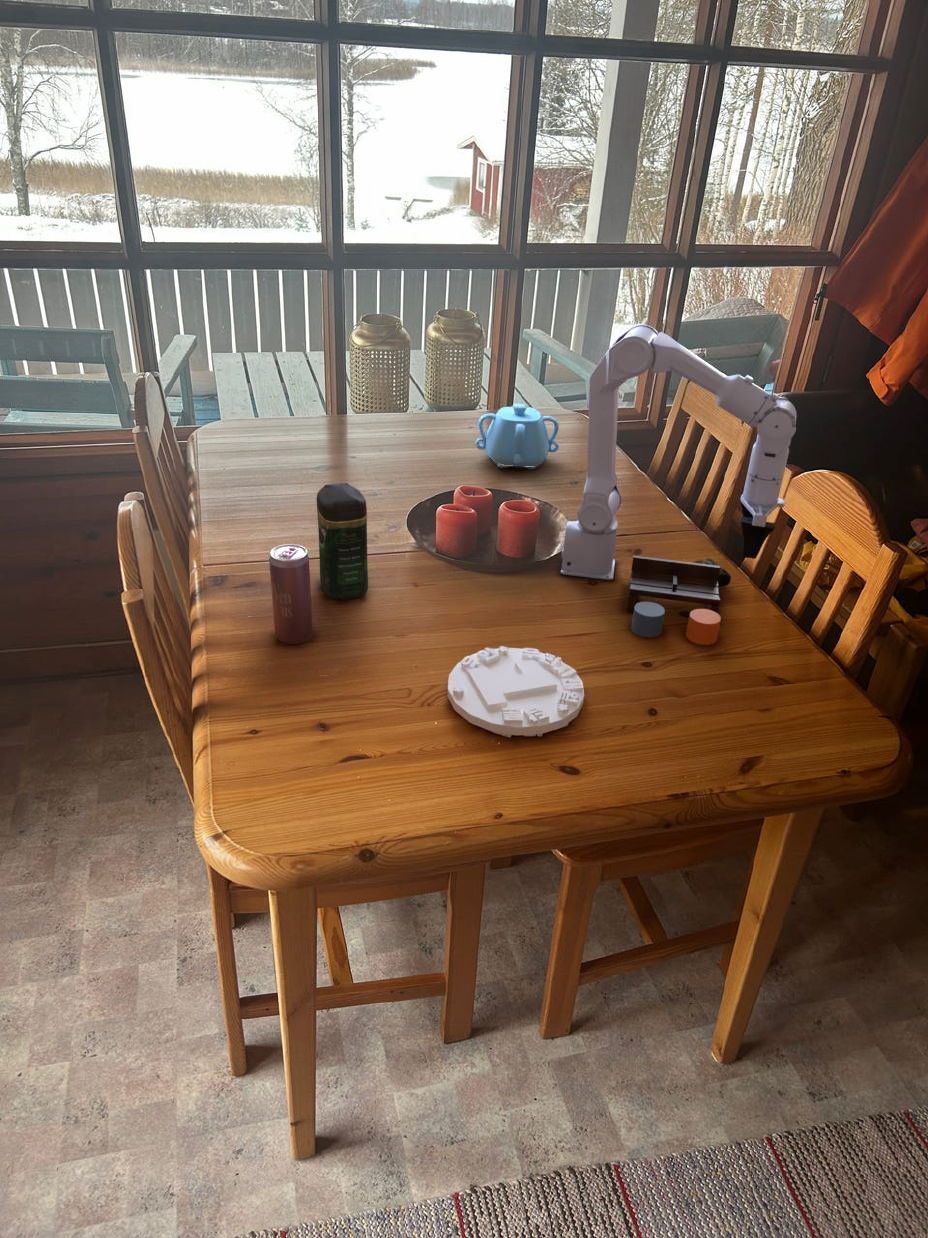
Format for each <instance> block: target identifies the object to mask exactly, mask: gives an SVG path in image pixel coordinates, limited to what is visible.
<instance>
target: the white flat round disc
mask: <svg viewBox="0 0 928 1238" xmlns="http://www.w3.org/2000/svg"><path fill="white" fill-rule="evenodd" d="M447 680H448V683H447V699H448V700H449V702H450V705H451V706H452V708H453V710H454V711H455V712H456V713H457V714H458V715H460V716H461V717H462V718H464V719H465V720H466V721H467V722H468V723H470V724H472V725H475V726H477V727H480V728H482V729H484V730H487V731H489V732H492V733H493V734H496V735H501V736H503V737H506V738H508V739H509V738H511V737H512V736H523V737H536V736H537V737H543V734H546V733H549V732H552V731H556V730H559V729H561V728H564V727H567V726H569V723H570V722H571V721H573V720H574V719H576V718H577V717H578V715H579V713H580V711H581V709H582V707H583V705H584V701H585V690H584V683H583V680H582V679H581V678H580V676H579V675H578V671H577V670H576V669H574V668H573V667H571V666H570V665H569V664H566V663H565V662H563V661H562V657H559V656H557V657H556V655H553V654H551V653H548V652H546V653H543V652H542V651H540V650H539V649H537V648H533V647H523V648H518V647H507V646H504V645H500V646H499V647H498V648H493V647H491V648H490V647H488V646H487V647H484V649H481V650H479V651H477V652H476V653H472V654H471V655H466V656H465V657H463V659H461V660H460V661H458V662H457V663H456V665H455V666H454V667H453V668H452V670H451V671H450V673H449V674H448V679H447Z"/></svg>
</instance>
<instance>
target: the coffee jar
mask: <svg viewBox="0 0 928 1238" xmlns="http://www.w3.org/2000/svg"><path fill="white" fill-rule="evenodd" d="M367 506H368V505H367V500H366V497H365V495H363V493H362V492H361V491H360V489H358V488H356V487H355V486H353V485H350V484H349V483H348V482H339V483H328V484H325V485H323V487H321V488H320V489H319V490H318V492H317V494H316V512H317V513H316V514H317V524H318V525H317V528H318V530H317V531H318V552H319V553H318V555H319V557H318V558H319V581H320V585H321V587H322V590H323V592H324V593H325V595H326V596H328V597H329V598H330V599H336V600H345V601H346V600H347V601H348V600H353V599H356V598H358V597H359V598H360V597H361V596H364V595H366V594H367V593H368V590H369V571H368V567H369V566H368V564H369V563H368V509H367Z"/></svg>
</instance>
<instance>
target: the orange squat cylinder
mask: <svg viewBox="0 0 928 1238" xmlns="http://www.w3.org/2000/svg"><path fill="white" fill-rule="evenodd" d="M721 621H722V617H721V615H720V614H719V613H718V614H717V613H716V612H714V611H712V610H708V608H696V609H695V608H694V609H693V610H691V611H690V612H689V616H688V622H687V627H686V630H685V631H686V632H685V637H686V639H687V640H689V641H690V642H691V643H693V644H696V645H701V646H709V645H714V644H715V643H716V642H717V641H718V635H719V632H720V631H719V630H720V626H721Z"/></svg>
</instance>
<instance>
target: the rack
mask: <svg viewBox="0 0 928 1238" xmlns="http://www.w3.org/2000/svg"><path fill="white" fill-rule="evenodd" d="M691 562H692V561H691ZM691 562H690V561H682V560H674V559H665V558H656V557H648V556H642V555H641V556H640V555H633V556H632V562H631V568H630V570H631V571H630V576H629V582H628V591H627V603H626V613H631V614H633V612H634V607H635V605H636V600H637V599H636V598H637V596H639V597H646V598H654V599H661V600H669V601H677V602H685V603H693V604H701V605H706V606H707V607H706V609H708V610H712V611H714V612H716V613H717V614H719V609H720V607H719V606H720V604H721V598H720V591H719V589H720V588H718V577H719V572H720V567H721V565H719V566H716V565H707V564H699V563H691Z"/></svg>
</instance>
